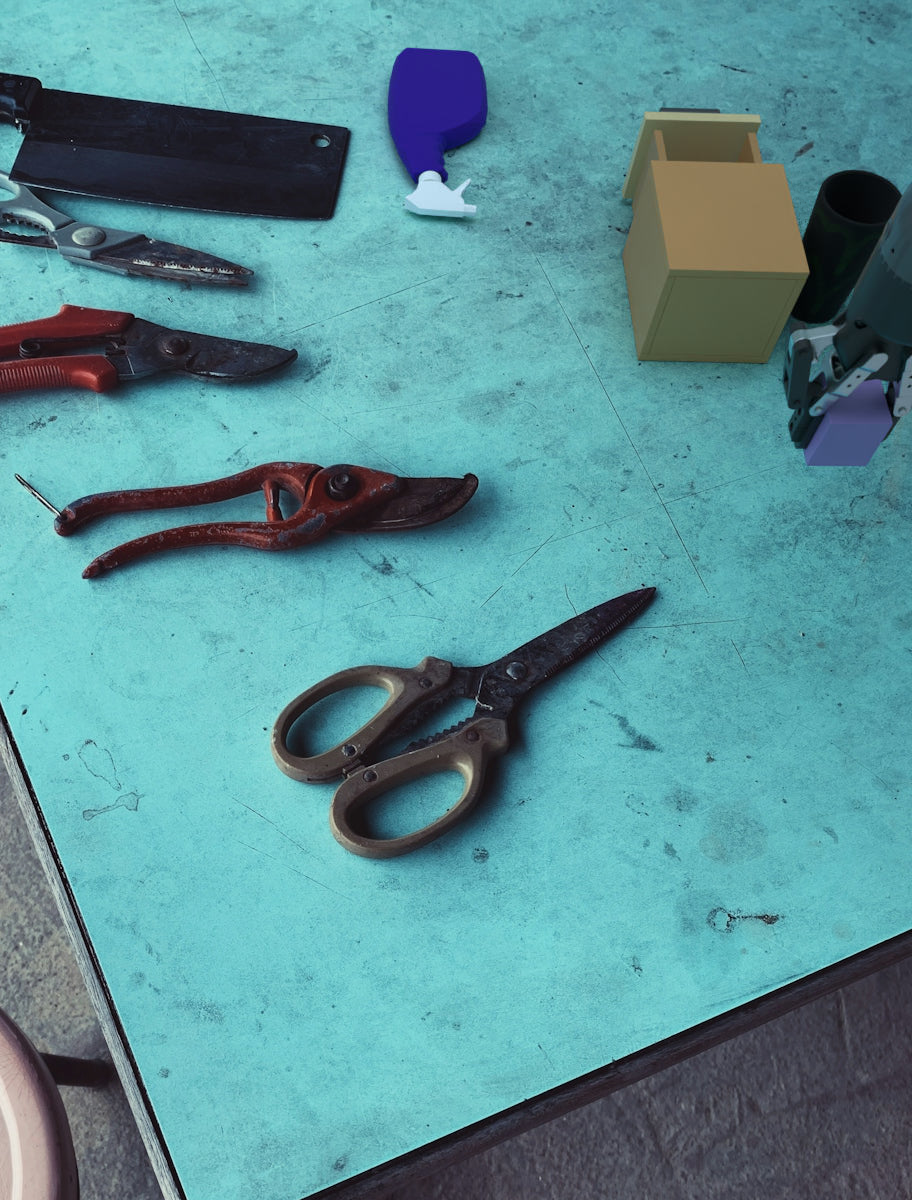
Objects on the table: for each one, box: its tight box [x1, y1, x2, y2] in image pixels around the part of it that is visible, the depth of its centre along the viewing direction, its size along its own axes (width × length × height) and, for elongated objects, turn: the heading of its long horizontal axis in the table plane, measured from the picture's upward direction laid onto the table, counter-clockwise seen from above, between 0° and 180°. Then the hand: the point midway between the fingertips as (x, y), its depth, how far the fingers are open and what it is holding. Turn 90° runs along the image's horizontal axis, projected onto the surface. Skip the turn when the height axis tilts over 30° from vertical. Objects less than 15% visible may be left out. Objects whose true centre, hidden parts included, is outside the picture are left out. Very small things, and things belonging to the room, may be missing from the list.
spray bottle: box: [387, 47, 489, 218], centre depth 128 cm, size 3×11×24 cm
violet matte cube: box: [802, 379, 893, 467], centre depth 88 cm, size 4×4×4 cm
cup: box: [790, 169, 903, 325], centre depth 114 cm, size 8×8×12 cm
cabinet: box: [621, 160, 810, 364], centre depth 114 cm, size 15×13×11 cm
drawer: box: [621, 106, 764, 217], centre depth 119 cm, size 18×11×9 cm, turn 0°
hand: (832, 439), depth 90 cm, fingers closed on violet matte cube, 4 cm apart
